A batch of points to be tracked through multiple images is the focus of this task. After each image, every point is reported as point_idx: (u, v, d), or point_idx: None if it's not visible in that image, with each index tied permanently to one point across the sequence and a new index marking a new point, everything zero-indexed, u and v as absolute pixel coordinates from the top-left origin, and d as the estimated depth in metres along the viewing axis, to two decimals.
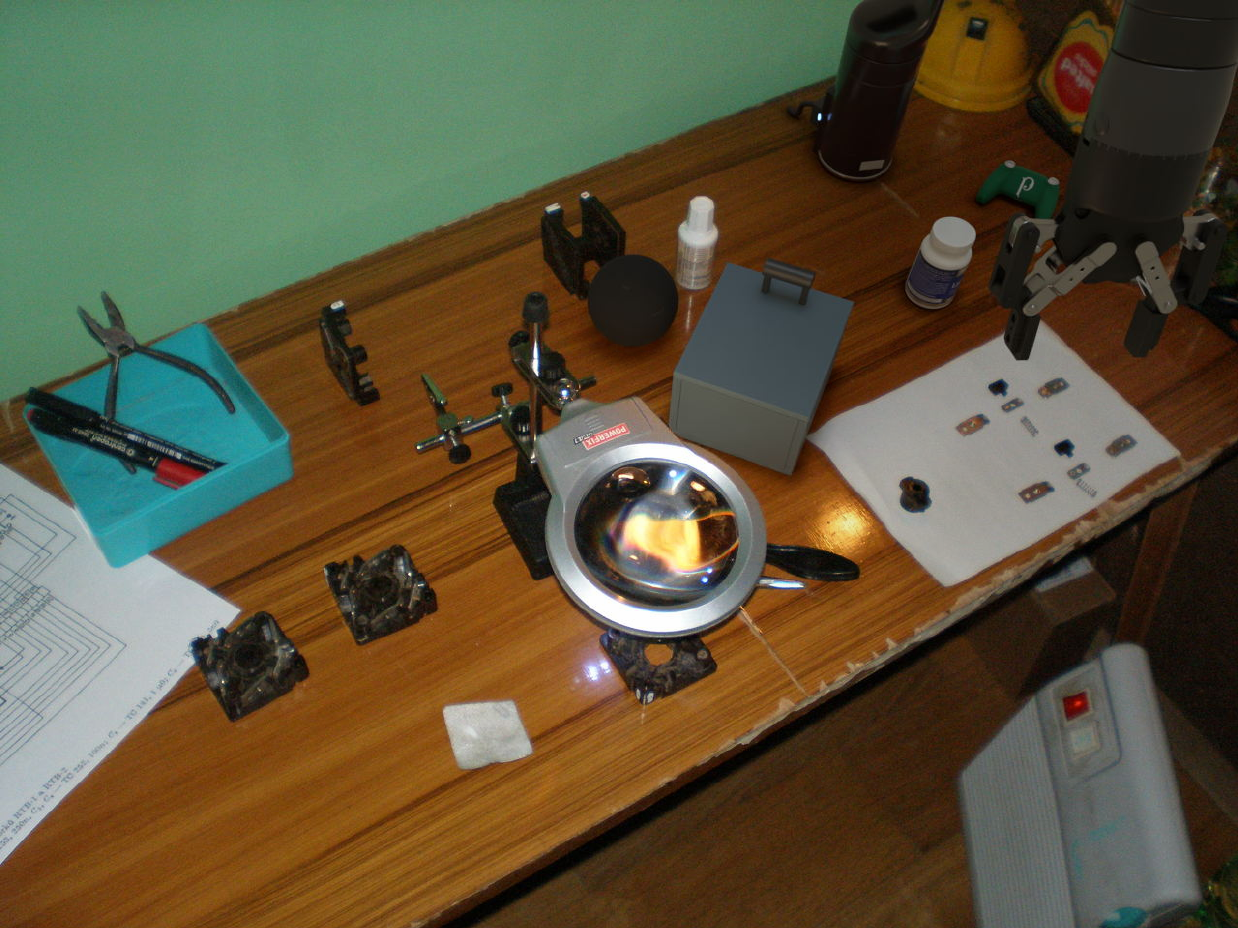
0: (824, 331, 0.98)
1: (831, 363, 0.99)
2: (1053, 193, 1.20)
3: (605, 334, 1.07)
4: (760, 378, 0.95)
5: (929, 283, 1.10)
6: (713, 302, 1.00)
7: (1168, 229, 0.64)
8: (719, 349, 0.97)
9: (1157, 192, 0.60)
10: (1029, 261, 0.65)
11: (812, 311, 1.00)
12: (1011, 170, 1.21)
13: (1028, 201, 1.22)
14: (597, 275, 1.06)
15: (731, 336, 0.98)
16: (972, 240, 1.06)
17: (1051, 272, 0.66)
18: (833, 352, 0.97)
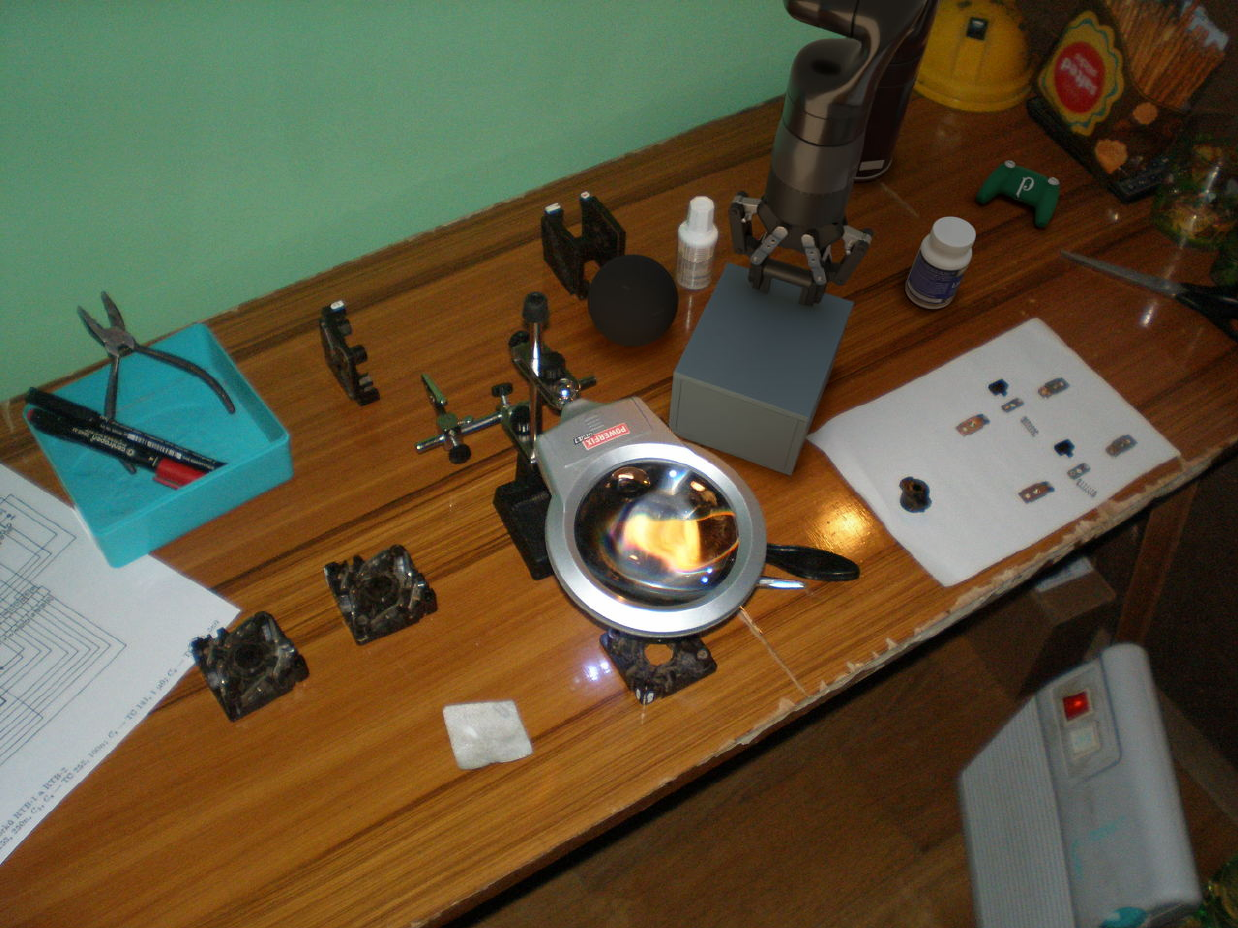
0: (824, 331, 0.98)
1: (831, 363, 0.99)
2: (1053, 193, 1.20)
3: (605, 334, 1.07)
4: (760, 378, 0.95)
5: (929, 283, 1.10)
6: (713, 302, 1.00)
7: (829, 230, 0.90)
8: (719, 349, 0.97)
9: (792, 210, 0.86)
10: (741, 227, 0.94)
11: (812, 311, 1.00)
12: (1011, 170, 1.21)
13: (1028, 201, 1.22)
14: (597, 275, 1.06)
15: (731, 336, 0.98)
16: (972, 240, 1.06)
17: (764, 237, 0.95)
18: (833, 352, 0.97)
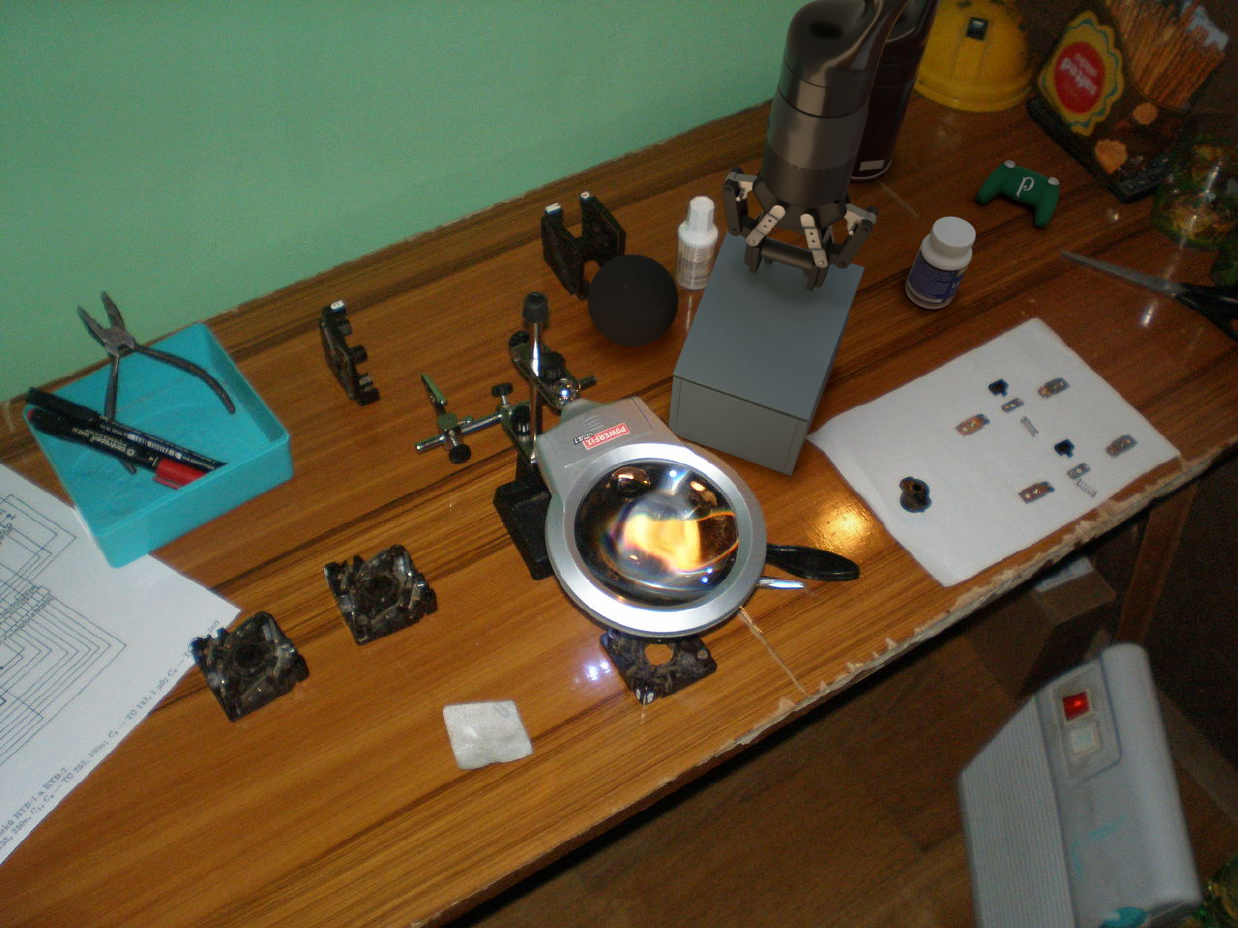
0: (830, 309, 0.94)
1: (831, 363, 0.99)
2: (1053, 193, 1.20)
3: (605, 334, 1.07)
4: (760, 375, 0.94)
5: (929, 283, 1.10)
6: (713, 281, 0.96)
7: (830, 209, 0.83)
8: (719, 341, 0.95)
9: (790, 187, 0.79)
10: (735, 206, 0.87)
11: None
12: (1011, 170, 1.21)
13: (1028, 201, 1.22)
14: (597, 275, 1.06)
15: (732, 324, 0.95)
16: (972, 240, 1.06)
17: (761, 217, 0.88)
18: (838, 336, 0.93)
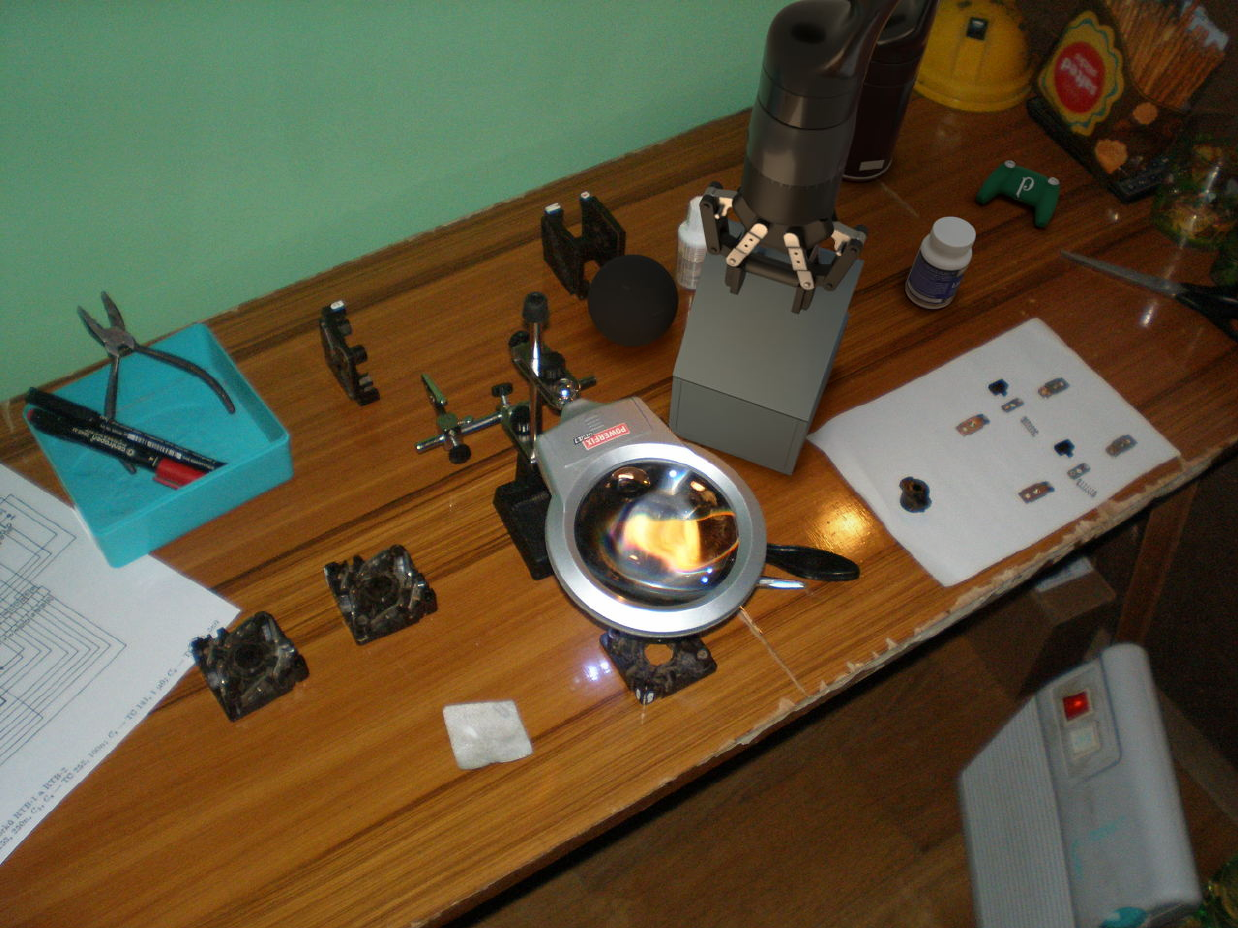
0: (827, 309, 0.88)
1: (831, 363, 0.99)
2: (1053, 193, 1.20)
3: (605, 334, 1.07)
4: (758, 377, 0.93)
5: (929, 283, 1.10)
6: (704, 280, 0.91)
7: (815, 228, 0.77)
8: (714, 343, 0.93)
9: (772, 205, 0.73)
10: (714, 224, 0.81)
11: None
12: (1011, 170, 1.21)
13: (1028, 201, 1.22)
14: (597, 275, 1.06)
15: (726, 326, 0.92)
16: (972, 240, 1.06)
17: (742, 235, 0.82)
18: (835, 338, 0.89)
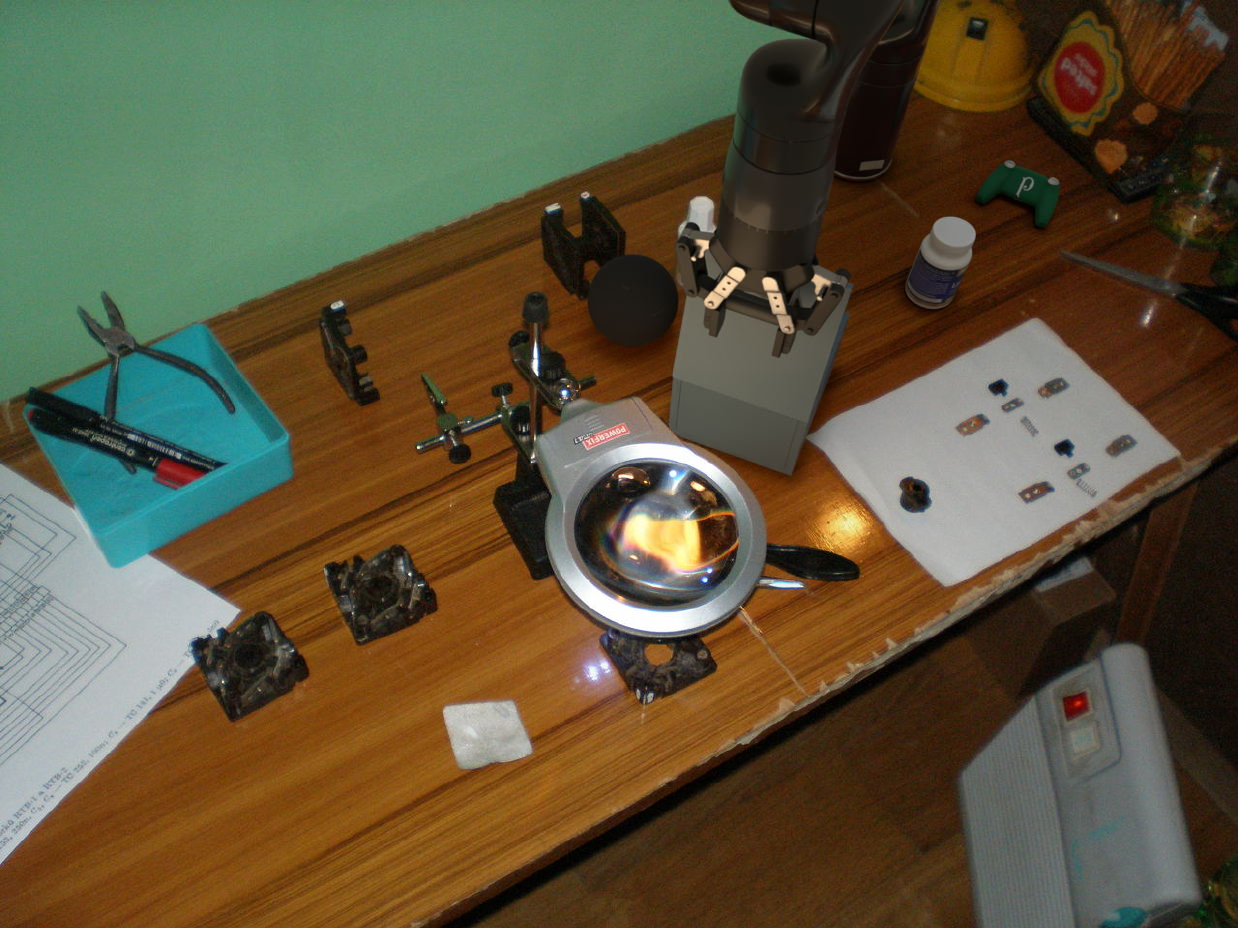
0: None
1: (831, 363, 0.99)
2: (1053, 193, 1.20)
3: (605, 334, 1.07)
4: (755, 383, 0.92)
5: (929, 283, 1.10)
6: None
7: (795, 272, 0.74)
8: (709, 352, 0.92)
9: (748, 250, 0.70)
10: (691, 266, 0.78)
11: (802, 304, 0.84)
12: (1011, 170, 1.21)
13: (1028, 201, 1.22)
14: (597, 275, 1.06)
15: (719, 338, 0.90)
16: (972, 240, 1.06)
17: (720, 277, 0.78)
18: (828, 354, 0.87)
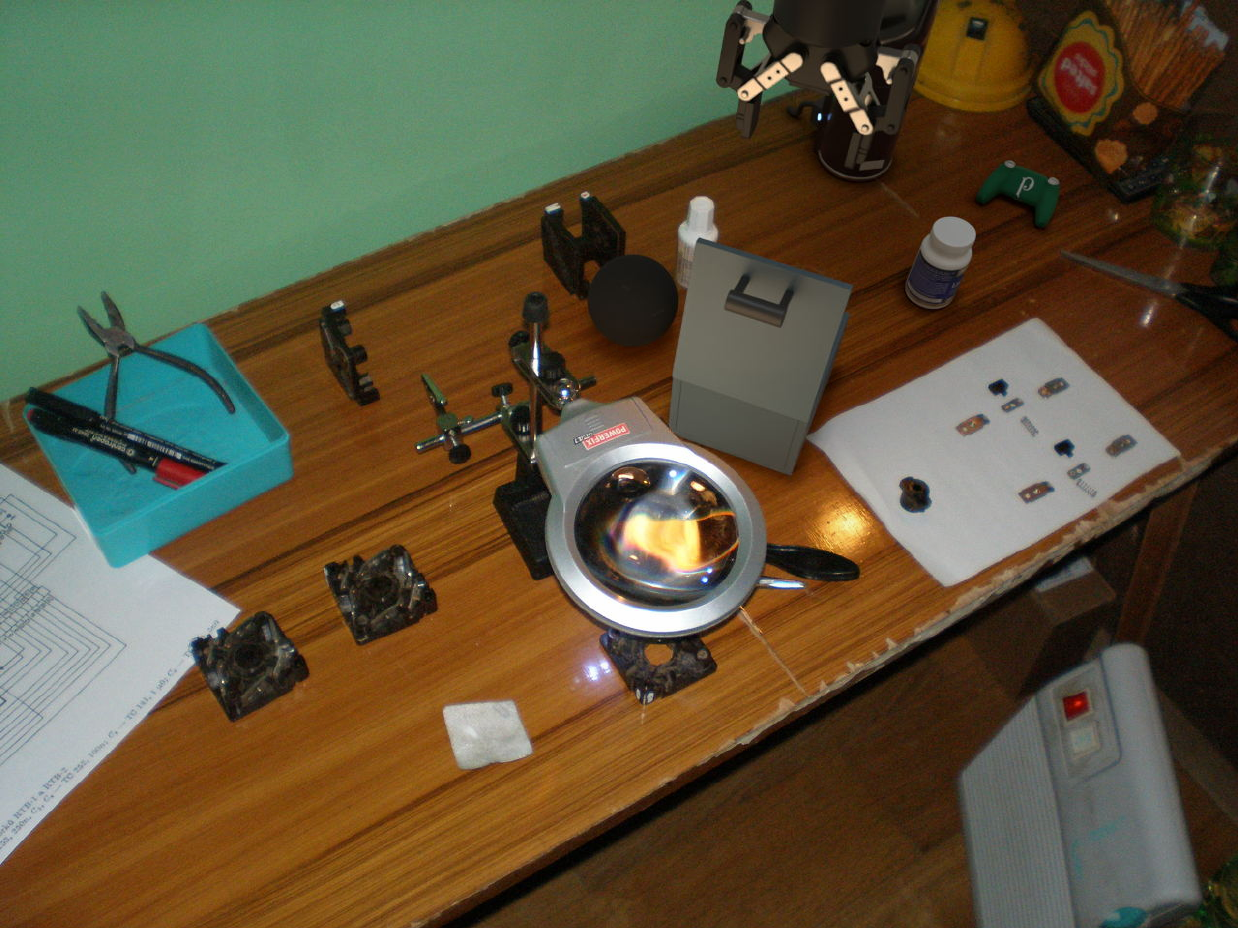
0: (817, 329, 0.85)
1: (831, 363, 0.99)
2: (1053, 193, 1.20)
3: (605, 334, 1.07)
4: (755, 383, 0.92)
5: (929, 283, 1.10)
6: (691, 297, 0.88)
7: (857, 56, 0.68)
8: (709, 352, 0.92)
9: (810, 20, 0.65)
10: (736, 50, 0.72)
11: (801, 305, 0.84)
12: (1011, 170, 1.21)
13: (1028, 201, 1.22)
14: (597, 275, 1.06)
15: (719, 338, 0.90)
16: (972, 240, 1.06)
17: (764, 65, 0.73)
18: (828, 355, 0.87)
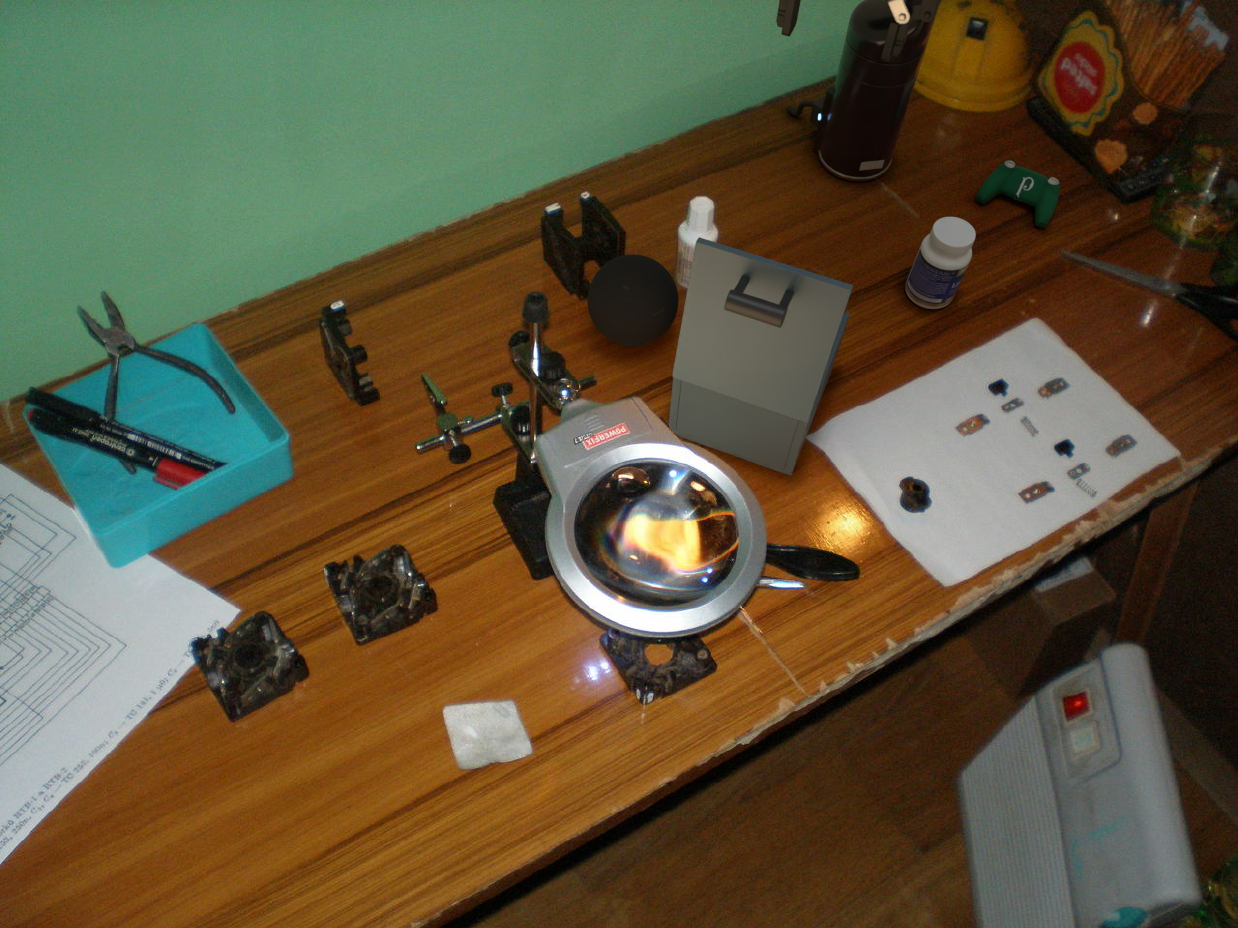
0: (817, 329, 0.85)
1: (831, 363, 0.99)
2: (1053, 193, 1.20)
3: (605, 334, 1.07)
4: (755, 383, 0.92)
5: (929, 283, 1.10)
6: (691, 297, 0.88)
7: None
8: (709, 352, 0.92)
9: None
10: None
11: (801, 305, 0.84)
12: (1011, 170, 1.21)
13: (1028, 201, 1.22)
14: (597, 275, 1.06)
15: (719, 338, 0.90)
16: (972, 240, 1.06)
17: None
18: (828, 355, 0.87)
